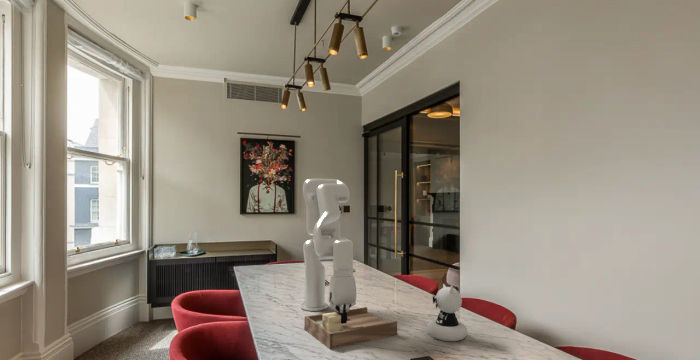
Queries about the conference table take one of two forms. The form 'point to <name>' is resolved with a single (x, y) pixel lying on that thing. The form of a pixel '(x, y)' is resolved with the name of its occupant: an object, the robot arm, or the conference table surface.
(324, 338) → the box
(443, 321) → the decorative figurine
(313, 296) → the robot arm
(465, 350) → the conference table surface
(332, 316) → the maple block
